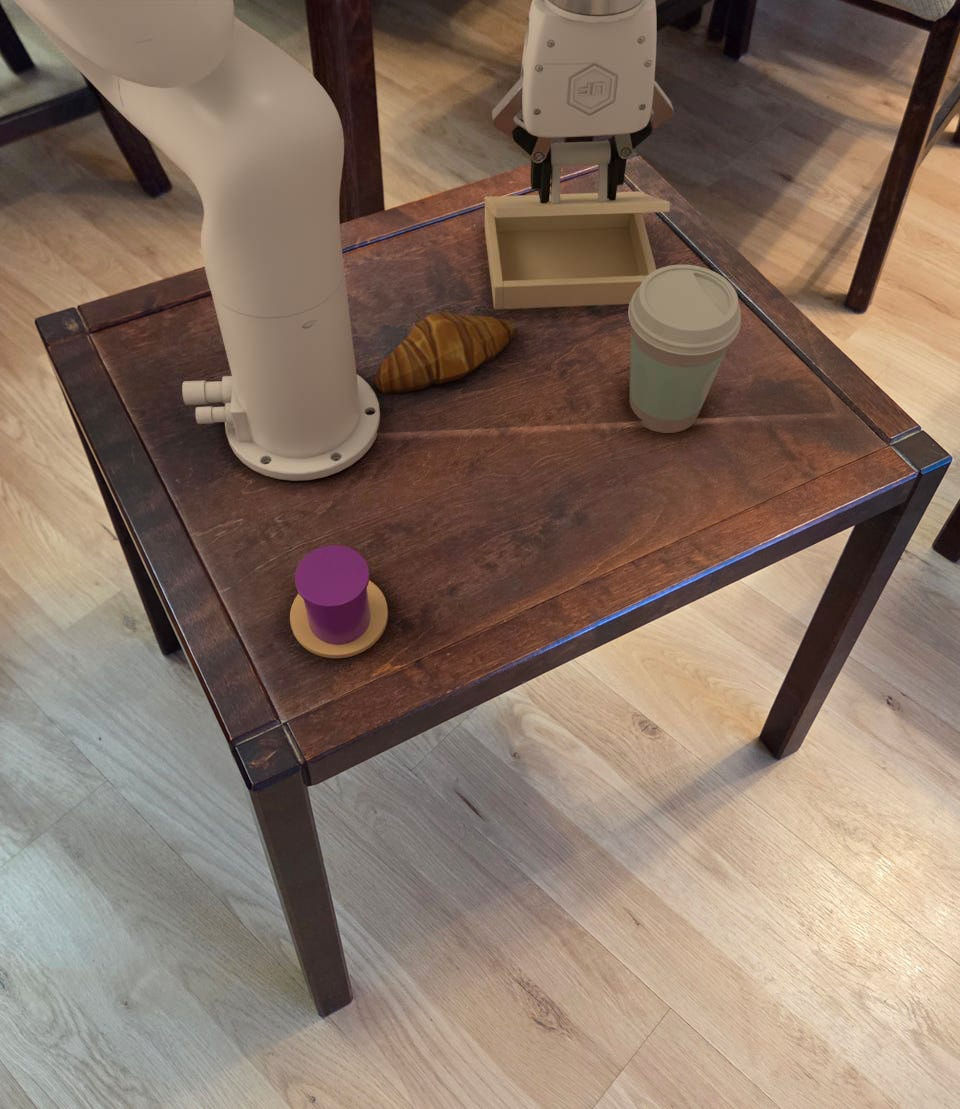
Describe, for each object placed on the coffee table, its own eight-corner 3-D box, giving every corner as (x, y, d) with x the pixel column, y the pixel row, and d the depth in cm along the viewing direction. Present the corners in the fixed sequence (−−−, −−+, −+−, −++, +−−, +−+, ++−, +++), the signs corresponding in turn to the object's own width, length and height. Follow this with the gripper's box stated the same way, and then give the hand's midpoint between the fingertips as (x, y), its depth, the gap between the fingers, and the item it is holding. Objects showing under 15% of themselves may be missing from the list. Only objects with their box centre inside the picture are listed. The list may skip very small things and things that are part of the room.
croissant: (490, 316, 95) (492, 272, 91) (532, 362, 92) (535, 317, 88) (357, 371, 91) (352, 327, 87) (396, 421, 87) (392, 377, 83)
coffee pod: (303, 650, 74) (293, 608, 69) (305, 591, 77) (295, 546, 72) (375, 646, 74) (369, 603, 70) (374, 587, 77) (368, 543, 73)
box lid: (669, 211, 88) (672, 140, 86) (495, 218, 87) (494, 145, 85) (638, 200, 100) (640, 136, 97) (485, 205, 99) (483, 141, 97)
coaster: (289, 661, 74) (288, 657, 74) (292, 579, 78) (291, 575, 78) (389, 655, 74) (388, 652, 74) (387, 574, 78) (386, 570, 78)
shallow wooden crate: (654, 309, 96) (659, 280, 93) (493, 315, 95) (494, 287, 92) (633, 229, 102) (638, 199, 100) (484, 234, 102) (484, 205, 99)
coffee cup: (711, 453, 86) (742, 343, 76) (606, 437, 87) (624, 326, 77) (718, 380, 91) (749, 267, 81) (619, 365, 92) (638, 252, 82)
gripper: (482, 8, 74) (481, 225, 89) (722, -2, 75) (681, 214, 90) (473, -44, 78) (473, 171, 93) (700, -53, 79) (664, 161, 94)
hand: (575, 190), depth 91 cm, fingers closed on box lid, 5 cm apart
